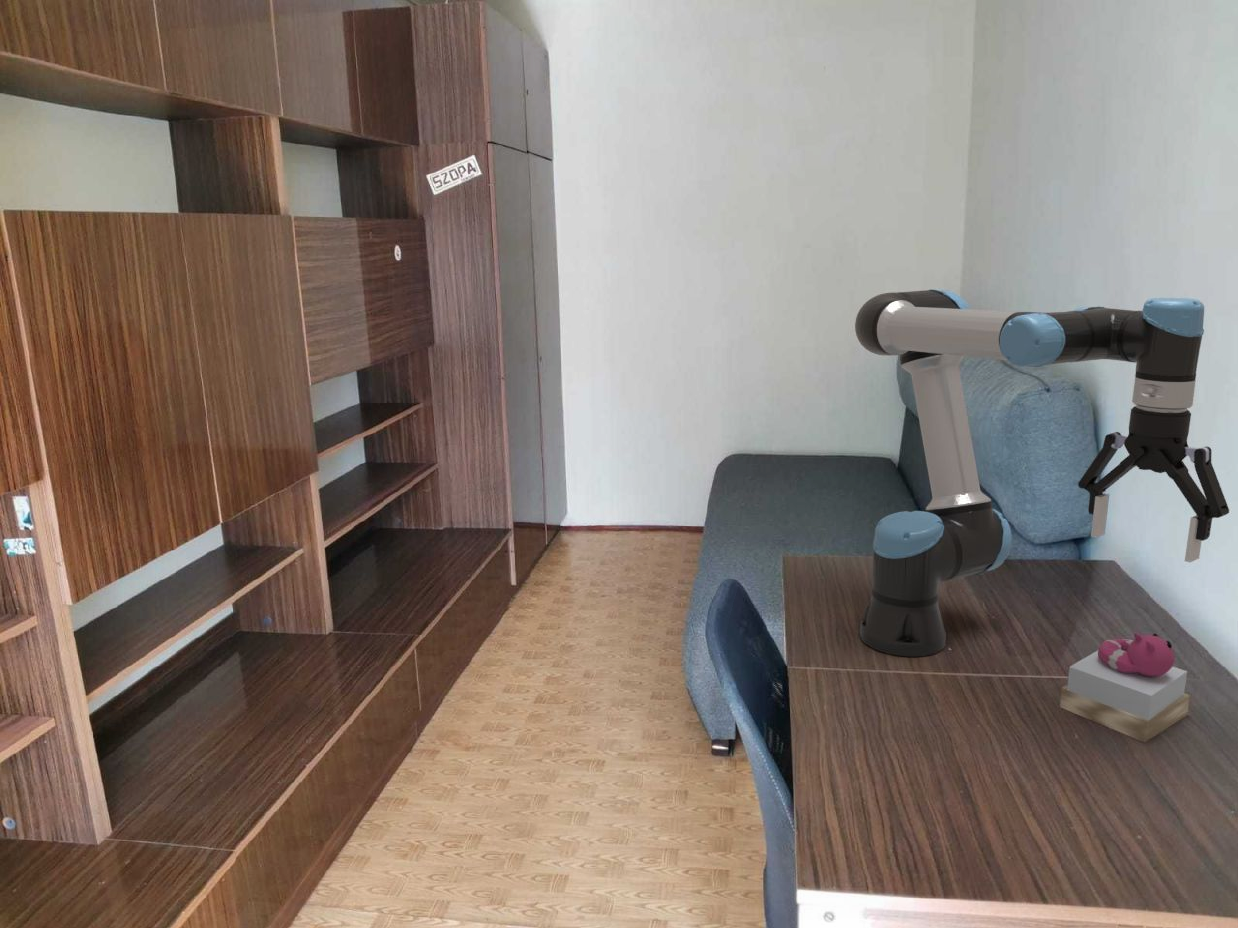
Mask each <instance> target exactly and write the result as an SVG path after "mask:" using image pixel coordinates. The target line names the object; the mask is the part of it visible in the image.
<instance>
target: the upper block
mask: <svg viewBox="0 0 1238 928" xmlns="http://www.w3.org/2000/svg"><path fill="white" fill-rule="evenodd" d="M1067 677H1068V679H1067V685H1068V687H1067V690H1068V691H1070V692H1073V693H1076V694H1078V695H1081V696H1084V697H1086V698H1089V699H1092V700H1094V701H1097V702H1100V703H1102V704H1105V705H1108V706H1110V707H1113V708H1116V709H1118V710H1121V711H1124V712H1126V713H1129V714H1132V715H1134V716H1137V717H1140V718H1142V719H1145V720H1148V721H1149V720H1150V719H1152V718H1153V717H1154V716H1156V715H1157V714H1159V713H1160V712H1161V711H1163V710H1164V709H1165V708H1167V707H1168V706H1170V705H1171V704H1172V703H1174V702H1175V701H1177V700H1178V699H1179V698H1181V697H1182V696H1184V693H1185V690H1186V682H1187V677H1188V671H1187V670H1184V669H1182V668H1178V667H1176V666H1174V665H1173V666H1172V667H1171V669H1170V670H1169V671H1168V672H1167V673H1165V674H1163V675H1160V676H1154V677H1152V676H1145V675H1143V674H1141V673H1139V672H1129V673H1122V672H1118V671H1116V670H1115V669H1113V668H1111V667H1109V666H1108V665H1107V664H1105V663H1104V662H1103V661H1102V660H1101V659H1099V657H1098V650H1096V651H1094V652H1093V653H1090V654H1089V655H1087V656H1086V657H1083V658H1081V660H1079V661H1077V662H1075V663H1073V664H1072V665H1070V666H1069V670H1068V676H1067Z"/></svg>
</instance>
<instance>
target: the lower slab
mask: <svg viewBox="0 0 1238 928" xmlns="http://www.w3.org/2000/svg"><path fill="white" fill-rule="evenodd" d="M1067 687H1068V684H1066V685H1064V686H1063V687H1061V693H1060V702H1059V708H1060V709H1063V710H1066V711H1068V712H1069V713H1070V712H1071V713H1073V714H1075V715H1077V716H1080V717H1082V718H1084V719H1088V720H1090V721H1091V722H1094V723H1097V724H1100V725H1102V726H1103V727H1106V728H1109V729H1111V730H1114V731H1116V732H1118V733H1120V734H1123V735H1126V736H1128V737H1130V738H1133V739H1136V740H1138V741H1141V742H1142V743H1146V742H1149V741H1150V740H1151V739H1153V738H1154V737H1156V736H1157V735H1159V734H1161V733H1162V732H1164V731H1165V730H1167V729H1168V728H1170V727H1172V725H1174V724H1176V723H1178V722H1180V721H1181V720H1182V719H1184V718H1185V717H1187V716H1188V713H1189V712H1188V711H1189V705H1190V698H1191V695H1190V694H1187V693H1185V692H1184V696H1182V697H1181V698H1179V699H1178V700H1177V701H1175V702H1174V703H1172V704H1171V705H1170V706H1168V707H1167V708H1165V709H1164V710H1163V711H1161V712H1160V713H1159V714H1157V715H1156V716H1154V717H1153V718H1152V719H1150V720H1149V721H1148V720H1145V719H1142V718H1140V717H1137V716H1134V715H1132V714H1129V713H1126V712H1124V711H1121V710H1118V709H1116V708H1113V707H1110V706H1108V705H1105V704H1102V703H1100V702H1097V701H1094V700H1092V699H1089V698H1086V697H1084V696H1081V695H1078V694H1076V693H1073V692H1070V691H1068V690H1067Z"/></svg>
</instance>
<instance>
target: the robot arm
mask: <svg viewBox="0 0 1238 928" xmlns="http://www.w3.org/2000/svg"><path fill="white" fill-rule="evenodd" d="M856 314H857V315H856V317H855V323H854V331H855V335H856V338H857V340H858V342H859V343H860V345H861V346H862V347H863V348H864V349H865V350H866V351H868V352H870V353H872V354H873V355H874V354H875V355H877V356H888V357H889V356H899V360H900V361H899V362H900V367H901V369H903V370H904V371H906V372H907V373H909V374H910V375H911V381H912V387H913V392H914V399H915V406H916V409H917V415H918V421H919V429H920V434H921V439H922V444H923V450H924V451H923V452H924V455H925V462H926V467H927V468H926V469H927V473H928V474H927V475H928V478H929V479H928V480H929V485H930V490H931V496H932V498H931V501H930V502H929V503H928V504H927V505H926V507H925V510H926V511H923V510H913V511H908V510H905V511H898V512H894V513H890V514H888V515H886V516H884V517H883V518H881V519H880V520H879V521H878V523H877V524H876V526H875V529H874V539H873V542H872V549H873V555H872V556H873V557H872V559H873V561H872V579H871V580H872V583H871V597H870V600H869V603H868V605H867V607H866V609H865V611H864V613H863V616H862V619H861V622H860V628H859V637H860V639H861V641H862V642H863V643H864V644H865V645H867V646H868V647H870V648H872V649H874V650H876V651H878V652H882V653H885V654H888V655H894V656H900V657H925V656H930V655H934V654H937V653H939V652H940V651H943V649H945V646H946V636H947V633H946V628H945V626H944V622H943V619H942V615H941V614H942V613H941V611H940V606H939V589H940V582H945V581H950V580H955V579H960V578H964V577H967V576H968V577H969V576H976V575H977V576H978V575H979V576H980V575H982V574H985V573H986V572H989V571H992V570H995V569H997V568H999V567H1000V566H1001V565H1002V564H1004V562H1005V560H1006V559H1007V558H1008V556H1009V554H1010V551H1011V548H1012V540H1013V536H1012V530H1011V526H1010V524H1009V522H1008V520H1007V519H1006V518H1004V515H1003V514H1002V513H1001V512H999V511H998V510H996V509H994V508H993V504H992V499H991V498H990V497H989V496H988V495H986V494H984V492H982V490H981V486H980V481H979V475H978V469H977V464H976V457H975V452H974V451H975V450H974V447H973V441H972V436H971V430H970V425H969V424H970V423H969V418H968V413H967V412H968V411H967V407H966V400H965V395H964V390H963V383H962V378H961V372H960V367H959V366H960V363H961V362H962V360H963V359H964V358H965V357H969V358H977V359H978V358H980V359H986V360H987V359H989V360H999V361H1008V362H1010V363H1011V364H1012V365H1014V366H1016V367H1022V368H1023V367H1028V368H1039V367H1043V366H1047V365H1048V366H1049V365H1057V364H1065V363H1078V362H1089V361H1098V360H1112V361H1120V362H1128V363H1136V364H1135V374H1134V385H1133V392H1132V398H1131V399H1132V401H1131V402H1132V403H1133V405H1134V406H1133V407H1132V408H1130V412H1129V413H1130V414H1129V415H1130V416H1129V423H1128V435H1127V436H1124V435H1122V434H1121V432H1119V431H1115V432H1112V433H1108V434H1106V435H1105V437H1104V440H1103V444H1102V448H1101V449H1100V450H1099V452H1098V454H1097V455H1096V457H1095V458H1094V460H1092V462H1091V464H1090V465H1089V467H1088V468H1087V470H1086V471H1085V472H1084V473H1083V476H1082V477H1081V478H1080V480H1079V481H1078V483H1077V486H1078V488H1080V489H1082V490H1083V489H1084V490H1085V491H1087V492H1088V494H1089V501H1088V510H1087V511H1088V514H1089V515H1092V522H1091V523H1092V524H1091V530H1090V531H1091V533H1090V537H1091V538H1093V539H1094V538H1095V539H1097V538H1099V537H1101V536H1104V535H1105V534H1106V527H1107V519H1108V518H1107V517H1108V510H1109V501H1110V493H1104V492H1106V490H1107V489H1109V488H1110V487H1111V486H1112V485H1114V484H1115V483H1116V482H1117V481H1119V480H1120V479H1121V478H1122V477H1123V476H1125V475H1126V474H1127V473H1129V471H1131V470H1132V469H1134V468H1136V467H1137V468H1138V470H1141V471H1143V470H1144V471H1152V472H1154V473H1159V474H1162V473H1166V475H1167V476H1168V478H1170V479H1171V480H1173V482H1174V484H1176V485H1175V486H1177V488H1178V489H1179V491H1180V493H1181V494H1182V495H1183V497H1184V498H1185V500H1186V501H1187V503H1188V504H1189V506H1190V507H1191V509H1192V511H1193V512H1194V514H1195V515H1194V516H1191V517H1190V520H1189V521H1190V522H1189V528H1188V535H1187V541H1186V549H1185V557H1184V562H1188V563H1192V562H1194V561H1196V560H1198V559H1200V554H1201V547H1202V541H1206V540H1208V539H1209V538H1210V535H1211V529H1212V521H1213V519H1214V518H1216V519H1219V518H1221V517H1224V516H1226V515H1228V514H1229V513H1230V508H1229V506H1228V502H1227V500H1226V498H1225V496H1224V495H1225V494H1224V493H1223V490H1222V487H1221V485H1220V482H1219V479H1218V476H1217V475H1216V471H1215V469H1214V466H1213V464H1212V449H1211V447H1209V446H1202V447H1189V445H1188V437H1189V432H1190V425H1191V420H1192V412H1190V410H1188V409H1190V408H1192V406H1193V405H1194V398H1195V387H1196V381H1197V380H1196V377H1197V368H1198V362H1199V356H1200V351H1201V344H1202V341H1203V340H1202V339H1203V335H1204V332H1205V330H1204V319H1205V305H1204V303H1203V302H1202V301H1200V300H1199V299H1194V298H1185V297H1184V298H1183V297H1182V298H1181V297H1179V298H1178V297H1154V298H1148V299H1147V300H1146V301H1144V303H1143V308H1142V309H1141V310H1131V309H1130V310H1129V309H1118V308H1110V307H1109V308H1108V307H1105V306H1100V305H1098V306H1083V307H1078V308H1075V309H1074V310H1072V311H1062V312H1061V311H1059V312H1058V311H1057V312H1053V311H1052V312H1037V311H1036V312H1035V311H1009V310H992V309H991V310H989V309H971V308H970V306H969V304H968V303H967V301H966V300H965V299H964V298H963V297H961V295H958V294H957V293H956V292H954V291H951V290H941V289H933V288H932V289H927V290H925V289H924V290H913V291H902V292H901V291H900V292H893V291H892V292H885V293H880V294H878V295H876V296H873V297H871V298H870V299H868V300H867V301H866V302H865V303H864V304H863V305H862V306H861V307H860V309H859V311H858V312H857V313H856ZM1123 446H1124V447H1125V450H1126V452H1127V453H1128V455H1127V456H1126V457H1125V458H1124V459H1123V460H1121V461H1120V462H1119V464H1118V465H1117V466H1115V467H1114V468H1113V469H1112V470H1110V471H1109V472H1108V473H1107V474H1106V475H1104V476H1103V477H1102V478H1101V479H1099V477H1100V476H1101V474H1102V473H1103V471H1104V470H1105V469H1106V467H1107V466H1108V464H1109V463H1110V461H1111V460H1112V459H1113V457H1114V456H1115V454H1116V453H1117V451H1118V450H1119V449H1121V448H1122V447H1123ZM1187 456H1188V457H1189V459H1190V462H1191V463H1192V464H1194V469H1195V472H1196V475H1197V478H1198V481H1199V483H1200V486H1201V488H1199V486H1198V485H1197V483H1196V482H1195V481H1194V479H1193V478H1192V475H1191V474H1190V473H1189V469H1188V467H1187V466H1186V464H1185V463H1184V461H1183V460H1184V459H1185V458H1187ZM1098 479H1099V480H1098ZM1097 480H1098V481H1097ZM1096 481H1097V482H1096ZM1201 489H1202V490H1201ZM1202 491H1203V492H1202Z"/></svg>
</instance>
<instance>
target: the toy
mask: <svg viewBox="0 0 1238 928" xmlns="http://www.w3.org/2000/svg"><path fill="white" fill-rule="evenodd" d="M1133 635H1134V638H1135V639H1127V638H1114V639H1107V640H1104V642H1102V643H1101V644H1100V645H1099V648H1098V649H1097V651H1098V657H1099V659H1101V660H1102V661H1103V662H1104V663H1105V664H1107V665H1108V666H1109V667H1111V668H1113V669H1115V670H1116V671H1118V672H1122V673H1129V672H1139V673H1141V674H1143V675H1145V676H1152V677H1154V676H1160V675H1163V674H1165V673H1167V672H1168V671H1169V670H1170V669H1171V667H1172V666H1173V667H1174V663H1175V653H1174V650H1173V648H1172V647H1173V645H1172V643H1171V642H1170V641H1169V640H1165V639H1164V638H1161V637H1159V635H1158V634H1157V633H1153V634H1152V635H1150V634H1145V635H1141V634H1139V633H1138V632H1137V631H1135V632H1134V633H1133Z"/></svg>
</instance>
